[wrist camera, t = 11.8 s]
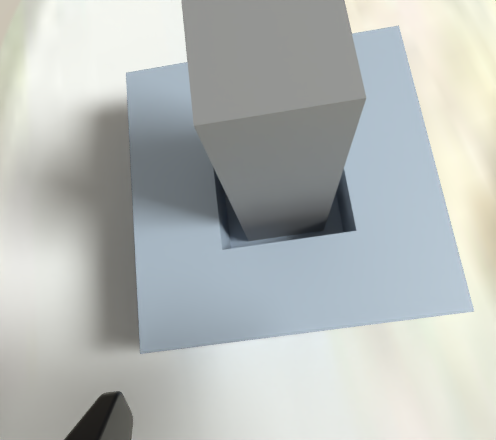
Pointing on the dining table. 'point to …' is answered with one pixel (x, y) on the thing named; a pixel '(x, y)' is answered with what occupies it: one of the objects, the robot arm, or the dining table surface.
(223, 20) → the gray block
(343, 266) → the socket block
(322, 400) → the dining table surface
